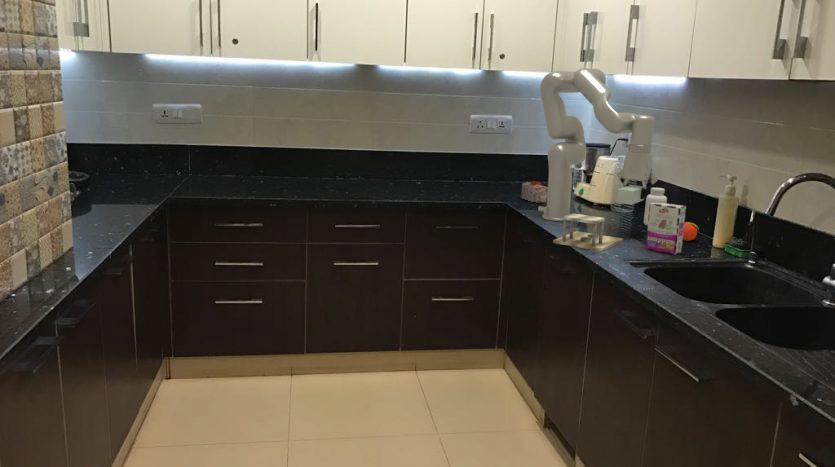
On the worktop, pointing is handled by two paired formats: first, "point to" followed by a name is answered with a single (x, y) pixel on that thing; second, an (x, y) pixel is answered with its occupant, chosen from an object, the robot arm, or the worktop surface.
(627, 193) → the pale green block
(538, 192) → the food item
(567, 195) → the robot arm
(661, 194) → the pill bottle
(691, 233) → the clementine
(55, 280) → the worktop surface
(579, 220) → the overhang stand
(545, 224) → the worktop surface
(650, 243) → the candy bar box
